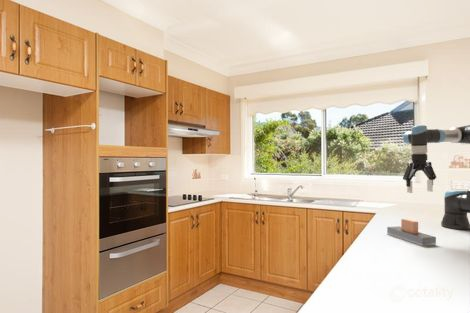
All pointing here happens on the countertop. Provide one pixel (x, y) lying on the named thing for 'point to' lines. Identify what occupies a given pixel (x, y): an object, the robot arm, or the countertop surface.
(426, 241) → the rail
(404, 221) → the tall peach block
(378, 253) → the countertop surface
